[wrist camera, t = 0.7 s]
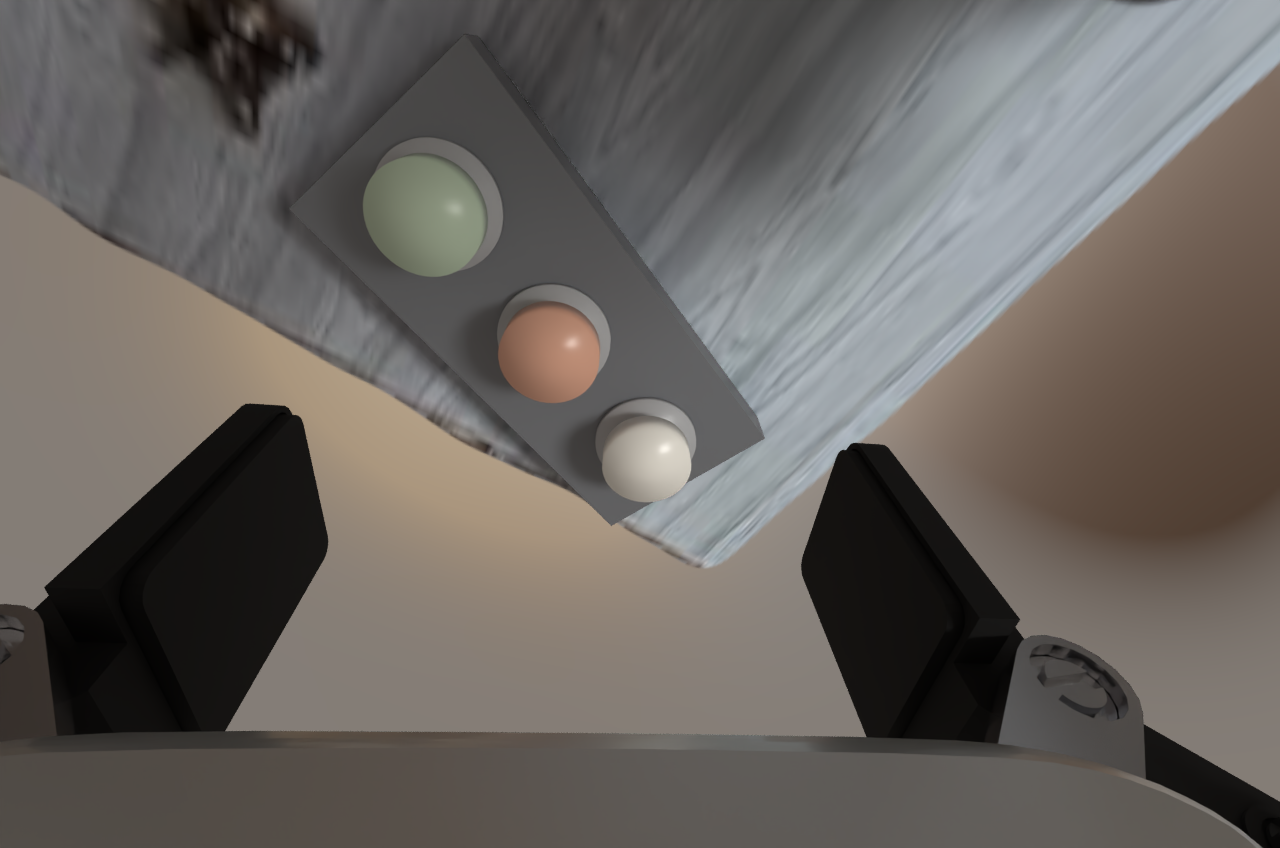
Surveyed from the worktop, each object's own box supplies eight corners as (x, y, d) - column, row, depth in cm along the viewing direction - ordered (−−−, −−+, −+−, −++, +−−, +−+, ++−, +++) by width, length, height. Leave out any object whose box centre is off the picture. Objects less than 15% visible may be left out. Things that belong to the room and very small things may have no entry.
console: (477, 36, 31) (461, 33, 28) (757, 416, 44) (766, 442, 41) (313, 198, 36) (284, 210, 33) (612, 501, 49) (611, 530, 46)
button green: (429, 127, 30) (418, 130, 28) (510, 224, 32) (504, 233, 31) (352, 200, 31) (338, 207, 30) (435, 287, 34) (425, 297, 32)
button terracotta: (557, 281, 34) (554, 291, 32) (619, 356, 37) (619, 369, 35) (483, 337, 36) (476, 350, 34) (547, 405, 38) (544, 419, 37)
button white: (656, 400, 38) (657, 414, 37) (705, 459, 41) (708, 475, 39) (585, 445, 40) (583, 460, 39) (637, 498, 43) (637, 515, 41)
